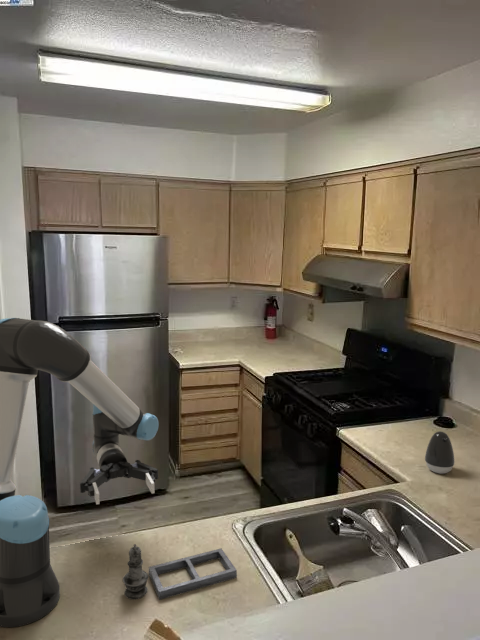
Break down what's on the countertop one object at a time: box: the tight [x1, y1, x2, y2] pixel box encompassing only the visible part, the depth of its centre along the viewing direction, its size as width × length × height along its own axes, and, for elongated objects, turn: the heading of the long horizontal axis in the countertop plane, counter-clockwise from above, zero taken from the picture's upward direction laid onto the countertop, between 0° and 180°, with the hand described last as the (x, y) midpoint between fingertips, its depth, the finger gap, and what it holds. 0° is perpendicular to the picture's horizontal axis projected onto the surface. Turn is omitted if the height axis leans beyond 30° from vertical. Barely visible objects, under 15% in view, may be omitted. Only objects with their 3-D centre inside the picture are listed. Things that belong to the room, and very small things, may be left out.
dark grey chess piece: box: [122, 544, 149, 601], centre depth 113 cm, size 6×6×12 cm
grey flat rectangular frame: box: [148, 547, 238, 601], centre depth 119 cm, size 20×10×2 cm, turn 114°
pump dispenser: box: [424, 430, 456, 474], centre depth 180 cm, size 10×10×15 cm
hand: (126, 493), depth 120 cm, fingers open, 13 cm apart
